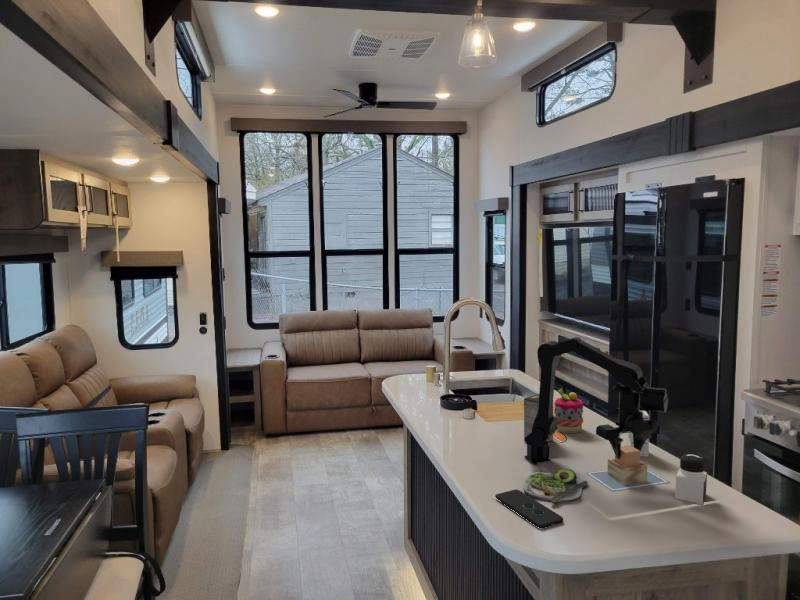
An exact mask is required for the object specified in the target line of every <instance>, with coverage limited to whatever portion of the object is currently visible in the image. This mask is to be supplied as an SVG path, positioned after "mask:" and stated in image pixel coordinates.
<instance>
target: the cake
mask: <svg viewBox="0 0 800 600" xmlns="http://www.w3.org/2000/svg"><path fill="white" fill-rule="evenodd" d="M557 391H558V394H559V395H560V396H561V397H559V398H556V399H555V401H554V407H555V408H554V411H553V414H554V417H558V422H557V427H558V429H557V430H558V431H557V430H556V431H557V432H559V431H560V432H559V433H565V434H578V433H581V432H582V430H583V423H584V417H583V413H584V402H583V401H582V400H581V399H578V395H577V393H575V392H573V391H572V392H569V394H566V393H564V390H563V388H559V389H558V390H557Z"/></svg>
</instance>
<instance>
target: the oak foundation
mask: <svg viewBox="0 0 800 600" xmlns="http://www.w3.org/2000/svg"><path fill="white" fill-rule="evenodd" d="M647 469H648V465H647V464H646V463H643V462H642V461H640V466H634V467H627V468H624V467H623V466H621V465H619V464H618V463H616V462H615V457H614V458H608V459H607V470H608V473H607V474H608V475H610V476H611V477H613V478H614V479H616V480H617V481H619V482H620V483H622V484H624V485H625V484H632V483H639V482H645V481H647ZM648 470H649V469H648Z"/></svg>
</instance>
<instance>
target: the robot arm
mask: <svg viewBox="0 0 800 600" xmlns="http://www.w3.org/2000/svg"><path fill="white" fill-rule="evenodd" d="M571 352H573V353H575V354H577V355H579V356H580V357H582V358H584V359H586V360H587V361H589V362H591V363H592V364H594V365H597V366H598V367H600V368H601V369H603V370H605V371H607V372H608V373H609V375H610V376H612V378H613V379H614V380H616V381H617V382H618V383H617V384H616V385H615V386H613V388H612V389H611V390H612V391H613V392H617V393H618V392H619V393H618V407H615V411H616V413H618V420H615V425H616V426H617V427H614V426H613V425H610V424H607V423H606V424H599V425H598V426H597V427H596V428H595V435H597V436H599V438H603V439H604V440H606V441H609V444H610V445H611V449H612V450H613V453H614V456H615V455H616V457H617V458H618V459H620V454H621V446H622V442H624V439H623V438H621V434H622V435H623V434H628V433H631V432H632V433H633V442H634V448H636V449H638V450H640V451H641V449H642V447H643V445H644V443H645V441H646V440H647V439H648V438H649V439H651V438H653V437H654V435H661V429H662V428H661V427H660V425H659V423H658V422H657V420H655V419H649V420H644V419H643V414H642V412H641V411H642V410H641V411H639V410H640V406H641V408H643V409H644V411H646V410H647V411H653V412H658V413H667V409H668V406H669V398H668V393H667V388H666V387H665V388H664V387H651V386H650V384H649V382H648V381H647V380H646V378H645V377H644V376H643V370H642V368H641V367H640V366H639V365H638V364H636V363H632V362H631V361H626V360H623V359H618V358H615V357H614V356H612V355H610V354H608V353H606V352H604V351H603V350H601V349H599V348H597V347H595V346H593V345H592V344H589V343H588V342H586V341H584V340H582V339H581V338H580V337H577V336H574V337H571V338H569V339H564V340H561V341H556V340H549V341H547V342H544V343H542V344H541V345H539V346H538V348H537V352H536V353H537V363H538V364H539V368H540V379H539V380H540V382H539V391H538V394H539V404H538V413H537V415H536V418H535V420H534V423H533V427H532V432H531V433H530V434H529V435H527V436H526V437H525V438H524V437H523V440H524V439H525V442H524V443H525V444H526V455H524V458H525V460H527V461H528V462H529V463H531V464H532V465H537V464H539V463H544V462H546V463H547V462H551V459H550V451H551V450H550V448H551V447H550V445H549V442H550V441H548V442H547V440H549V438H550V436H552V435H553V436H554V435H555V433H556V431H557V429H558V427H557V422H558V417H554V416H555V414H554V411H553V412H552V409H553V410H554V394H555V381H556V371H557V367H558V365H559V363H560V360H561V357H562V355H563V354H564V355H565V354H567V353H571Z"/></svg>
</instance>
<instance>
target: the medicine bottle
mask: <svg viewBox="0 0 800 600" xmlns="http://www.w3.org/2000/svg"><path fill="white" fill-rule="evenodd" d="M679 459H680V460H679V469H678V471H677V473H676V476H675V490H674V491H675V493H674V494H675V495H674V498H675V500H676V499H678V500H682V501H686V502H690V503H691V502H692V503H693V504H694V505H698V506H699V505H700V506H704V504H705V499H706V496H707V483H708V482H707V481H708V480H707V479H708V472H707V471H705V459H703V457H700V456H699V455H695V454H684V455H681V456H680V458H679Z"/></svg>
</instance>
